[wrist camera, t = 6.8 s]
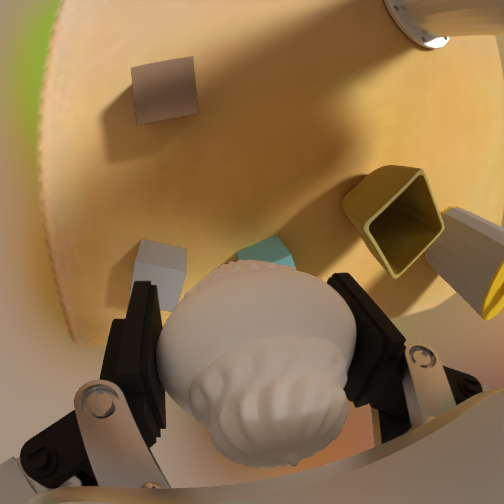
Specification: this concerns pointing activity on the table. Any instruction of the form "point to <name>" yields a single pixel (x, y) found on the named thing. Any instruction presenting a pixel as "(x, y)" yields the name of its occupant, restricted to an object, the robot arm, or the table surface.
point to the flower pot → (394, 215)
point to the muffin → (260, 361)
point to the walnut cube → (164, 90)
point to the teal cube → (268, 252)
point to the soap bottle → (471, 259)
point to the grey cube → (161, 271)
